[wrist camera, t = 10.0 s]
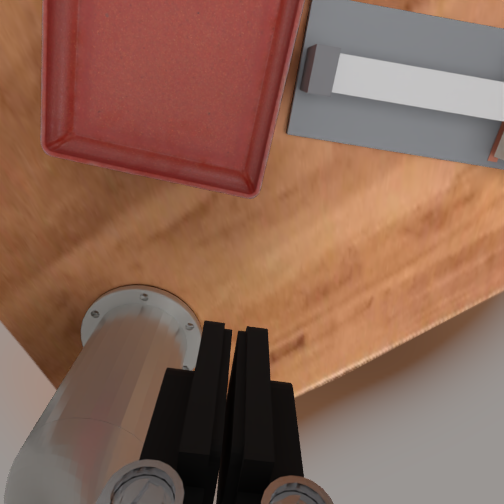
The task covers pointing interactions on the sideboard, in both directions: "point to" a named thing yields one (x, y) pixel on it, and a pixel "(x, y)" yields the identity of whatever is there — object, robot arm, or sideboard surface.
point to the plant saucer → (167, 86)
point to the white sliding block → (500, 149)
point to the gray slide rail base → (400, 82)
